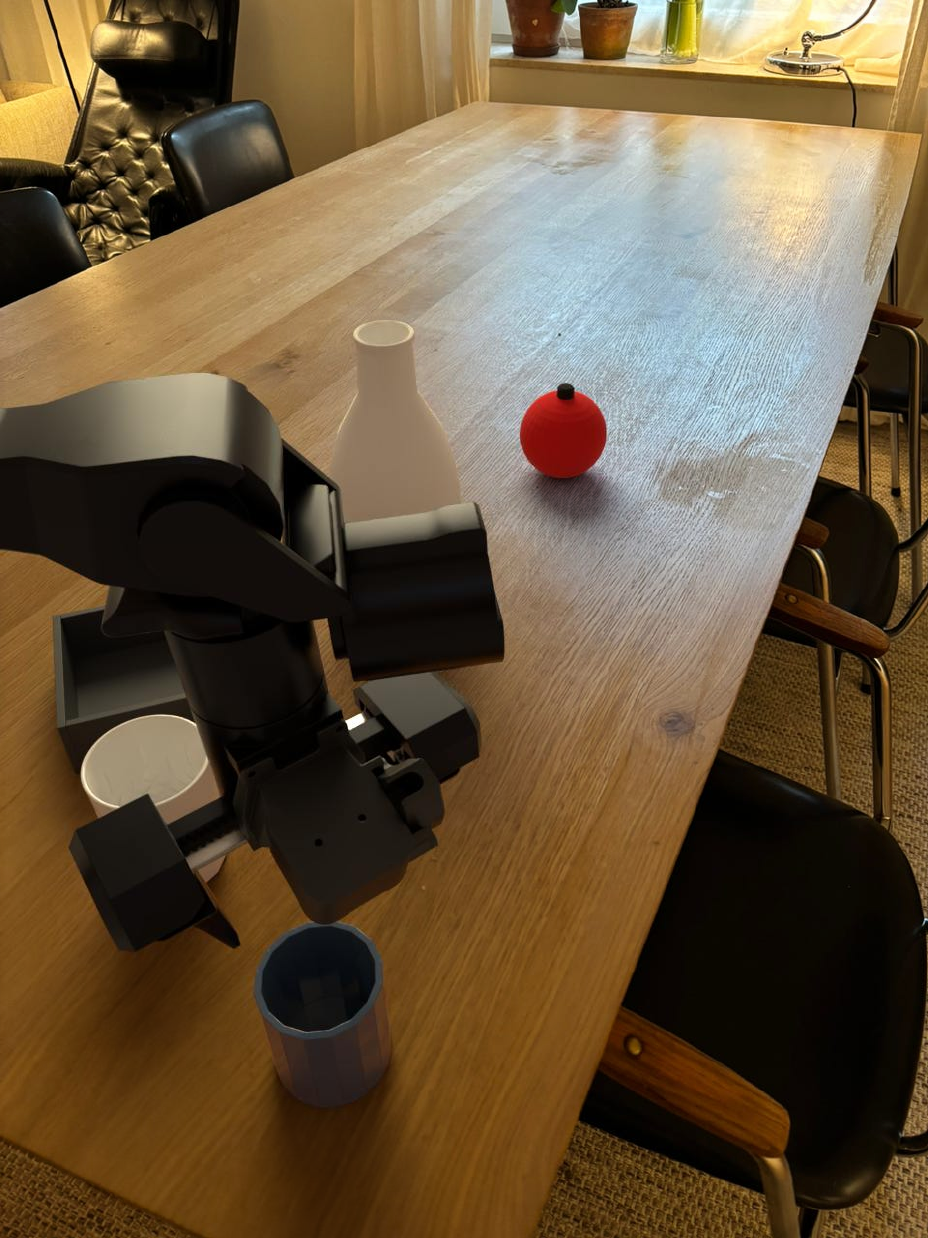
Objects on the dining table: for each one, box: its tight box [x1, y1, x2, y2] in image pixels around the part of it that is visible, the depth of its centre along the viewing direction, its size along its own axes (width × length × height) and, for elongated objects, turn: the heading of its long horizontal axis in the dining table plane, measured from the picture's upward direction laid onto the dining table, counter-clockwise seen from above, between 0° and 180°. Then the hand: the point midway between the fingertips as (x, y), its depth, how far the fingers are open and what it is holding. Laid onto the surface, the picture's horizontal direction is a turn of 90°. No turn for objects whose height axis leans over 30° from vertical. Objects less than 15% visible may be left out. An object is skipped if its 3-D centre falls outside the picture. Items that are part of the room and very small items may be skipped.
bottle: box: [327, 319, 462, 523], centre depth 81 cm, size 11×11×25 cm
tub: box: [52, 605, 196, 775], centre depth 79 cm, size 13×13×5 cm
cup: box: [253, 921, 392, 1109], centre depth 55 cm, size 7×7×8 cm
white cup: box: [80, 715, 227, 884], centre depth 65 cm, size 8×8×10 cm
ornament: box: [519, 382, 608, 479], centre depth 102 cm, size 9×9×10 cm
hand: (314, 893), depth 52 cm, fingers open, 9 cm apart
